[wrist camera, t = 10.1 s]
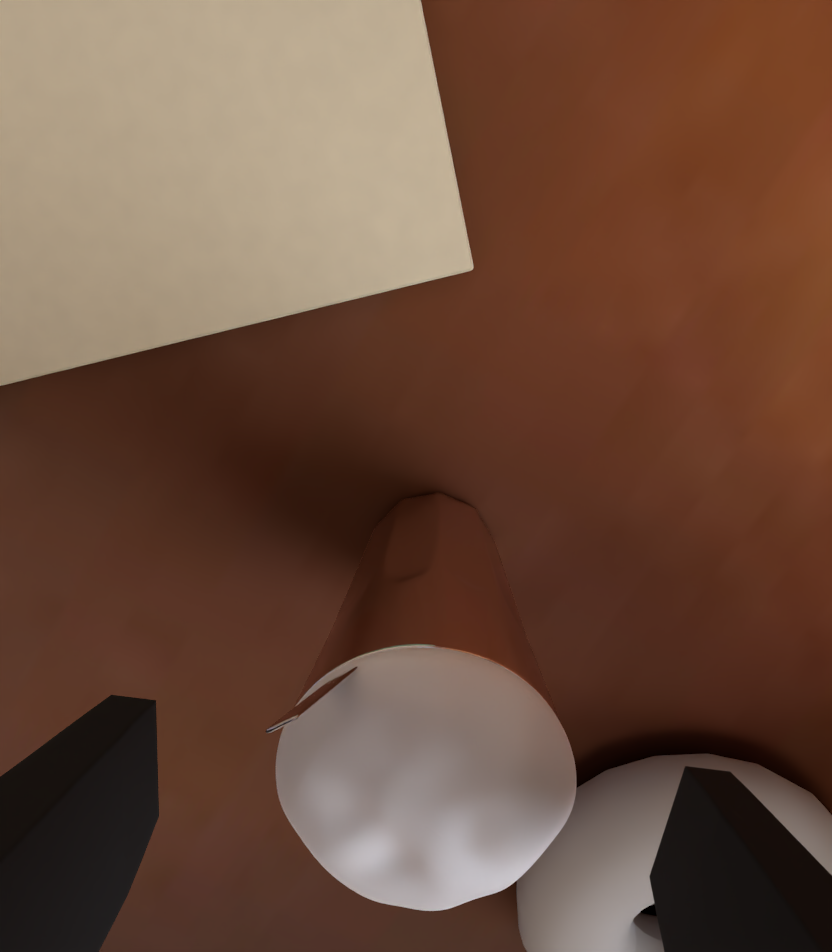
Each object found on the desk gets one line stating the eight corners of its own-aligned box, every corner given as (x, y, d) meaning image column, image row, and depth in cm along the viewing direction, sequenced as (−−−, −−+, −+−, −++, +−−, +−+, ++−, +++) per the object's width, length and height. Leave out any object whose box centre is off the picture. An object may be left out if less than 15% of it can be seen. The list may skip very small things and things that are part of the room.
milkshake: (451, 409, 16) (459, 640, 7) (547, 578, 18) (662, 958, 8) (299, 492, 17) (122, 796, 8) (402, 646, 19) (359, 1057, 9)
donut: (896, 841, 21) (675, 667, 18) (983, 955, 17) (726, 760, 15) (659, 997, 23) (445, 862, 21) (695, 1120, 20) (447, 975, 18)
